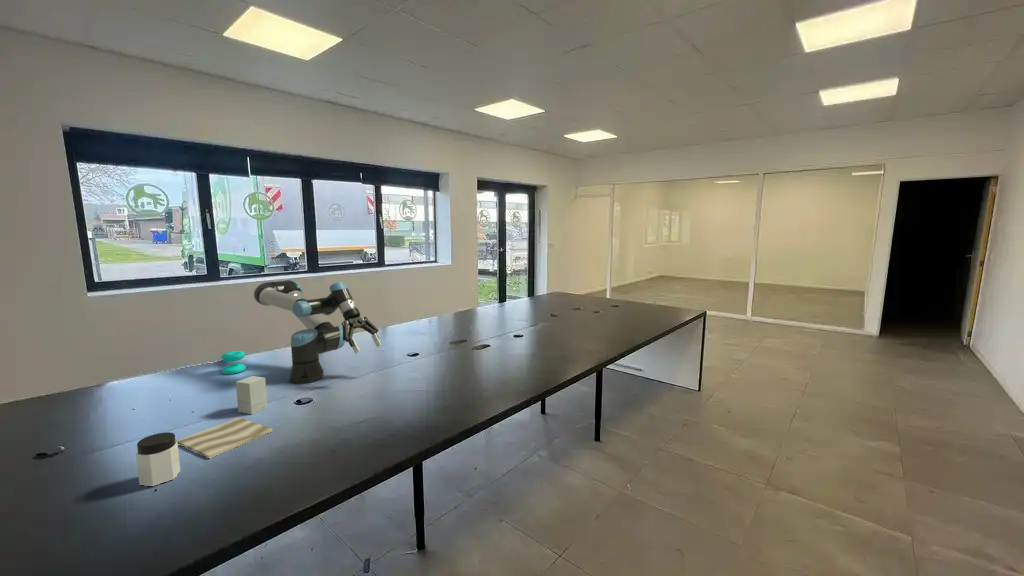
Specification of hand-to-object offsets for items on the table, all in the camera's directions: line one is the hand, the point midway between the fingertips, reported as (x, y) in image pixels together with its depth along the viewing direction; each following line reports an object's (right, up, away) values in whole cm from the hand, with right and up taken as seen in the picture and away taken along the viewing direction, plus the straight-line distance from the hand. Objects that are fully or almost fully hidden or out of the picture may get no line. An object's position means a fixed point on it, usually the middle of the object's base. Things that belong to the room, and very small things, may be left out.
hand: (368, 349), depth 194 cm
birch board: (-30, -22, -55) cm, 66 cm away
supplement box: (-35, -20, -32) cm, 51 cm away
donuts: (-73, -14, +13) cm, 76 cm away
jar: (-32, -25, -78) cm, 88 cm away
